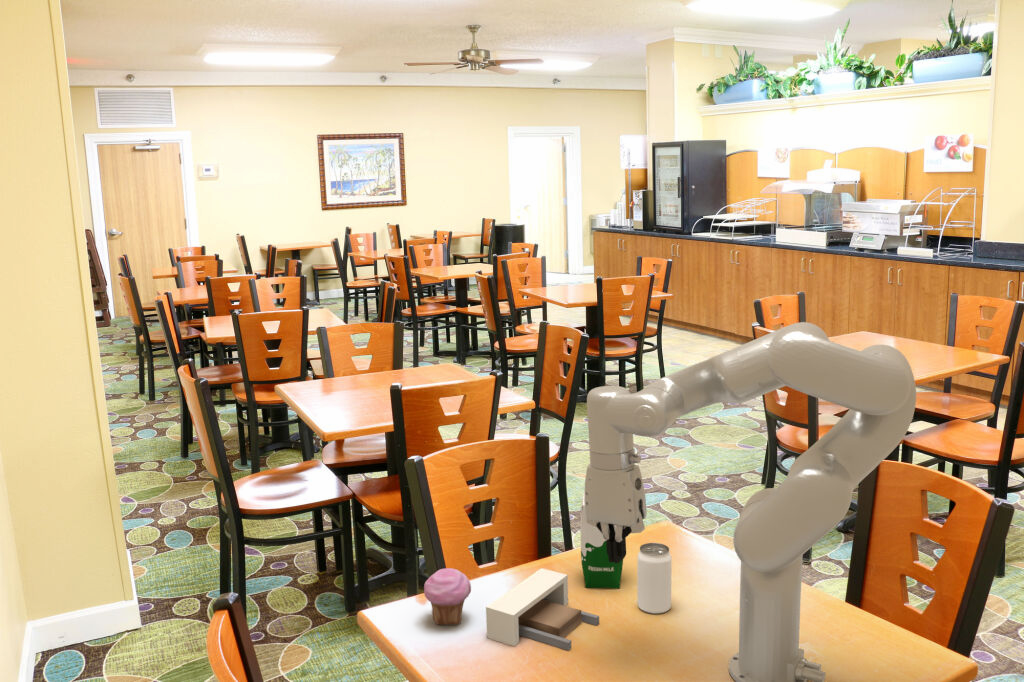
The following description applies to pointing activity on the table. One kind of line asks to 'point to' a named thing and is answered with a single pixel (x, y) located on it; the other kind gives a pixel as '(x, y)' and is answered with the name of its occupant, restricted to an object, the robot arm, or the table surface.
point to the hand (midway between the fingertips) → (616, 559)
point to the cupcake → (447, 595)
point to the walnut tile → (551, 618)
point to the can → (654, 578)
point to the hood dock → (521, 599)
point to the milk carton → (597, 557)
